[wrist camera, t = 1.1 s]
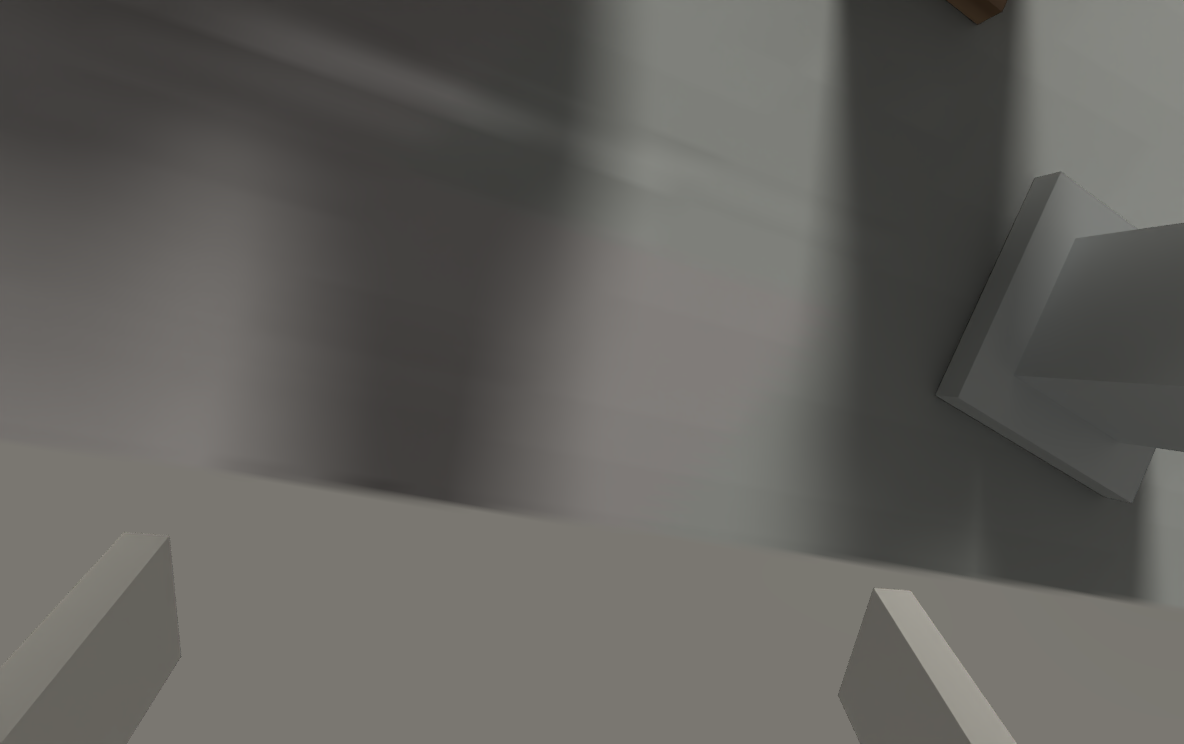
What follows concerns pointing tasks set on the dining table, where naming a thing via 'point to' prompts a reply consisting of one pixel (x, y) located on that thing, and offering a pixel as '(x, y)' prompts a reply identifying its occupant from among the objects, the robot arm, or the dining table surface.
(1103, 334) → the grey stand
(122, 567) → the robot arm
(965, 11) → the walnut stand
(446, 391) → the dining table surface
